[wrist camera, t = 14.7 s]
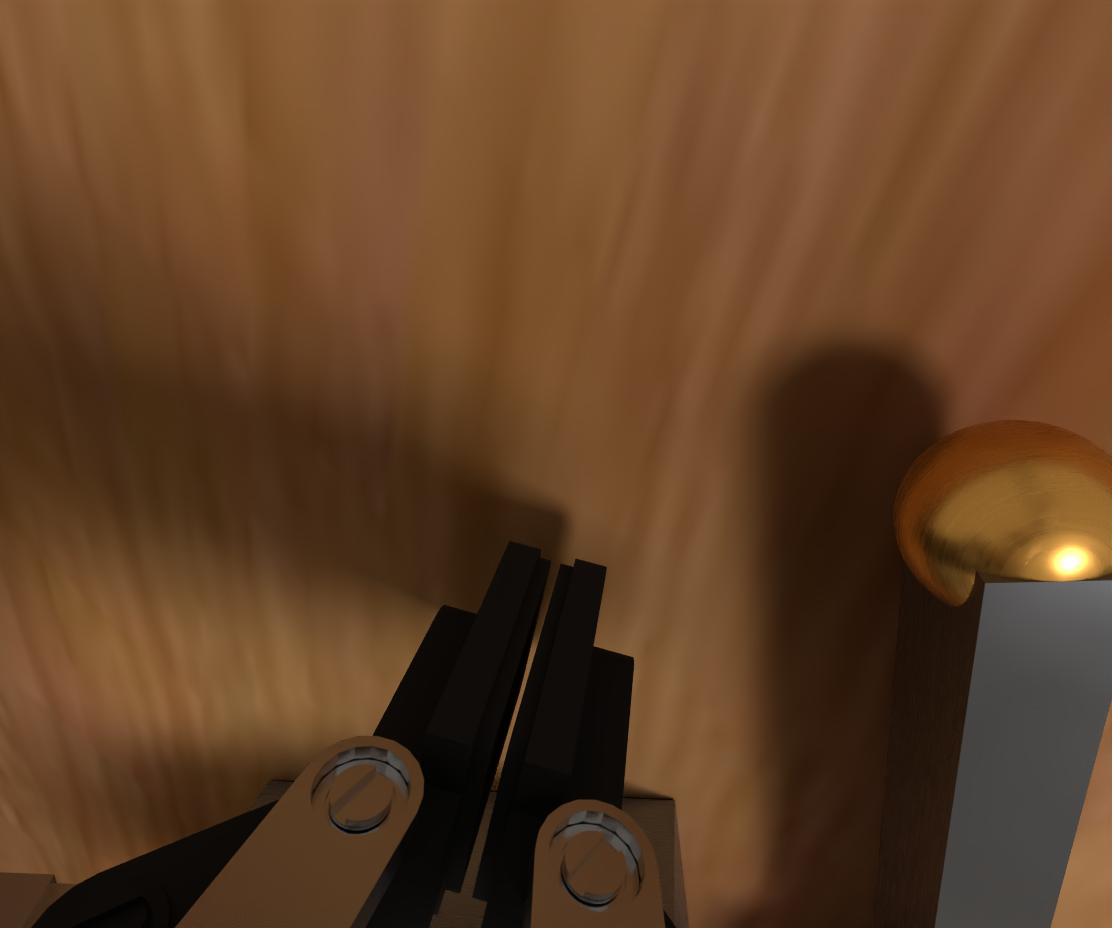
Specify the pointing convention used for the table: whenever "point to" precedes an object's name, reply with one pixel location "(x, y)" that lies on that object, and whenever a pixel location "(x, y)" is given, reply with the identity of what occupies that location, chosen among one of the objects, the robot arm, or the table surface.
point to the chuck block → (460, 911)
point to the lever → (995, 674)
